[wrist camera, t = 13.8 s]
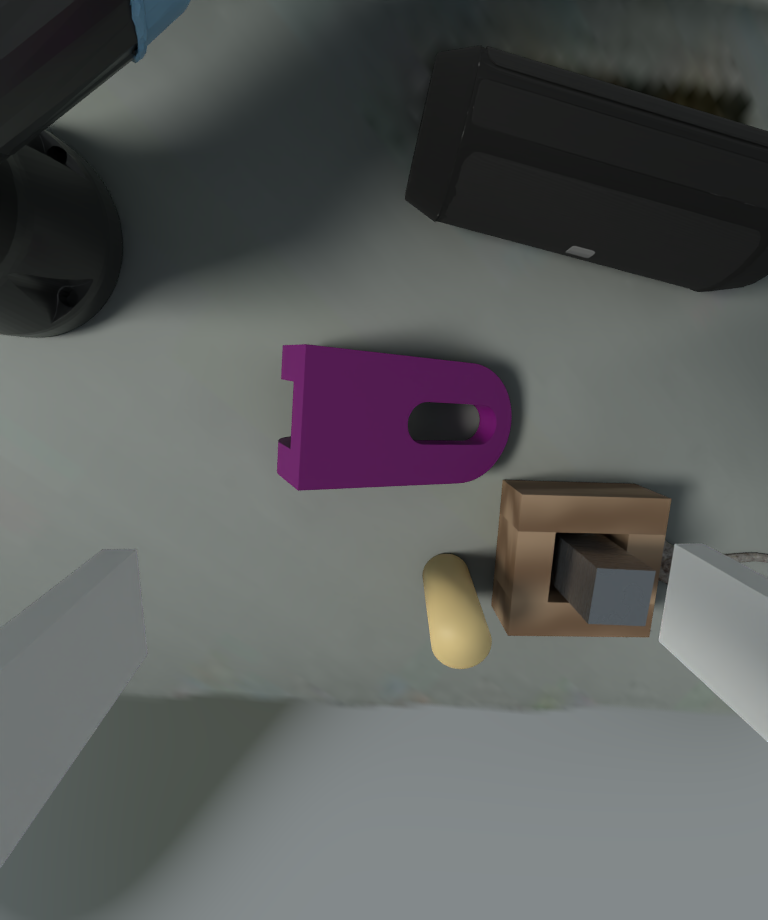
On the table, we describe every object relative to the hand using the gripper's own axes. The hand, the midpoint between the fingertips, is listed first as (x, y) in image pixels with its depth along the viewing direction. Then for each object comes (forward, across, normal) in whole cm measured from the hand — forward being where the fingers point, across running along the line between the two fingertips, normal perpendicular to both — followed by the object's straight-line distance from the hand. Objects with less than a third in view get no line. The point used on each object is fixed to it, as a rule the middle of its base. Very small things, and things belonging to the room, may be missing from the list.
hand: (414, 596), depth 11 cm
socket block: (+28, +18, -11) cm, 35 cm away
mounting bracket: (+29, +2, +1) cm, 29 cm away
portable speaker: (+29, +16, +18) cm, 37 cm away
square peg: (+28, +18, -11) cm, 35 cm away
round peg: (+28, +7, -14) cm, 32 cm away
